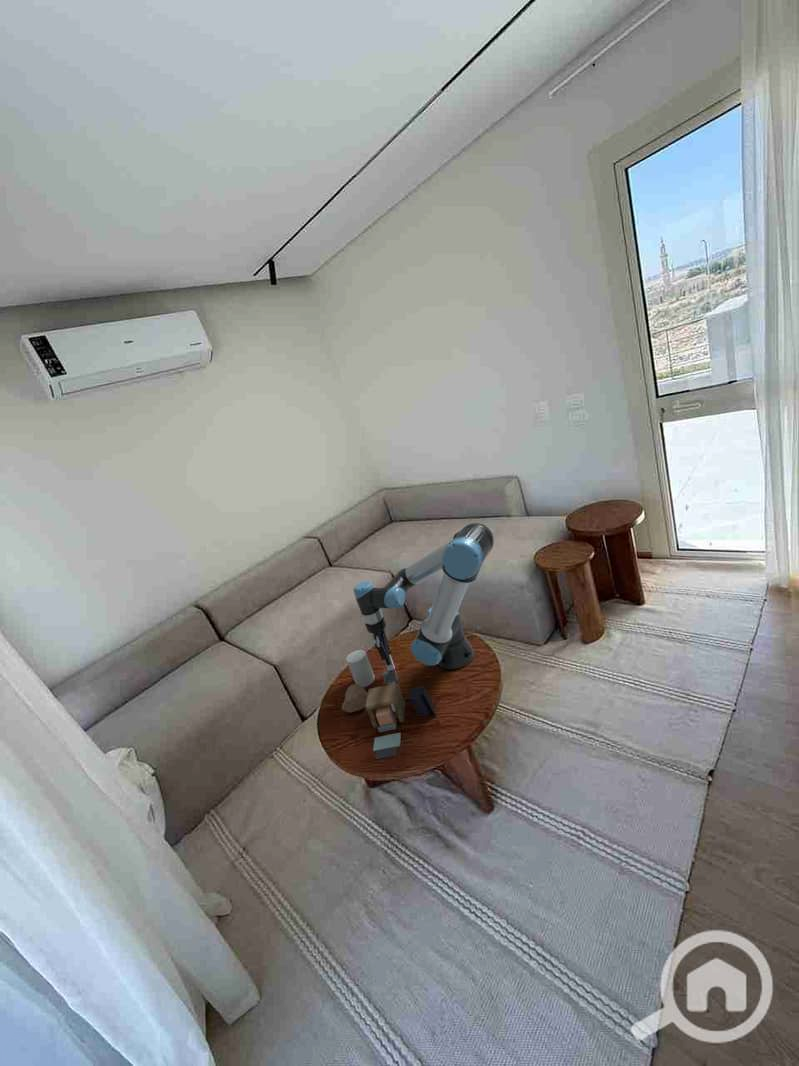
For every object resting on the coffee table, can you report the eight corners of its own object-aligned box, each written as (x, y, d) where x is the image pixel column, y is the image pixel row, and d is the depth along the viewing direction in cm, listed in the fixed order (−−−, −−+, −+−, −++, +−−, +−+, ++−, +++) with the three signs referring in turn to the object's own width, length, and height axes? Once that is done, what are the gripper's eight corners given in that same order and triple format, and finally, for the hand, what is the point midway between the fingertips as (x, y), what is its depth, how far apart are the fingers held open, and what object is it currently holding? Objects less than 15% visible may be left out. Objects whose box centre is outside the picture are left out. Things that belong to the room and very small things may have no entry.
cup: (372, 686, 174) (362, 661, 170) (353, 688, 176) (343, 663, 172) (376, 672, 181) (368, 648, 178) (358, 675, 183) (349, 651, 180)
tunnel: (405, 703, 159) (397, 682, 156) (404, 721, 150) (396, 700, 148) (376, 709, 160) (368, 689, 157) (373, 727, 152) (365, 706, 149)
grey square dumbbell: (399, 678, 172) (396, 669, 171) (396, 728, 147) (392, 718, 146) (385, 681, 173) (381, 672, 172) (379, 732, 148) (375, 721, 147)
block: (394, 714, 153) (390, 703, 151) (393, 725, 148) (389, 713, 146) (381, 717, 153) (377, 705, 152) (380, 727, 148) (376, 716, 147)
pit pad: (397, 747, 140) (396, 747, 140) (396, 755, 137) (396, 755, 137) (376, 751, 141) (376, 751, 141) (375, 759, 138) (375, 759, 138)
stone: (368, 718, 161) (373, 691, 161) (344, 717, 157) (349, 690, 157) (360, 703, 172) (364, 678, 172) (337, 703, 169) (341, 677, 169)
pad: (400, 733, 146) (400, 732, 146) (400, 746, 141) (399, 745, 140) (375, 738, 147) (374, 737, 147) (373, 751, 142) (373, 750, 142)
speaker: (439, 703, 153) (428, 681, 150) (436, 716, 148) (424, 693, 145) (420, 705, 156) (409, 683, 153) (416, 718, 151) (404, 695, 148)
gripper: (366, 613, 176) (384, 661, 183) (362, 631, 163) (381, 682, 171) (384, 609, 175) (401, 657, 182) (381, 626, 162) (399, 678, 169)
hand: (391, 669), depth 176 cm, fingers closed
